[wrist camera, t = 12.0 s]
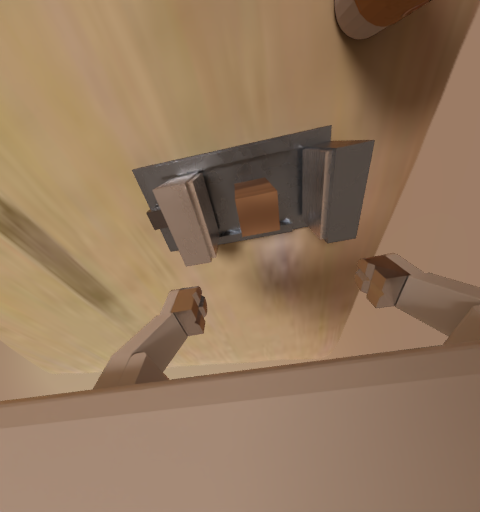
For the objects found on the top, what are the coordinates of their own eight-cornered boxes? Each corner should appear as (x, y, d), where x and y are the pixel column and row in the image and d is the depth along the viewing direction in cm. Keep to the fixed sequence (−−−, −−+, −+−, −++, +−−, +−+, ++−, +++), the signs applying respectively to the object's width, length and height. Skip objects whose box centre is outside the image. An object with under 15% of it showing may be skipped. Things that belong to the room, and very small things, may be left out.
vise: (137, 168, 23) (88, 181, 15) (325, 126, 21) (379, 116, 13) (173, 246, 29) (151, 284, 22) (319, 219, 28) (353, 250, 20)
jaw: (141, 183, 22) (105, 200, 16) (202, 170, 22) (190, 181, 15) (168, 242, 27) (149, 273, 21) (220, 233, 26) (215, 261, 20)
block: (234, 183, 23) (234, 199, 17) (265, 177, 23) (277, 190, 16) (240, 213, 25) (242, 237, 19) (268, 207, 25) (280, 230, 18)
